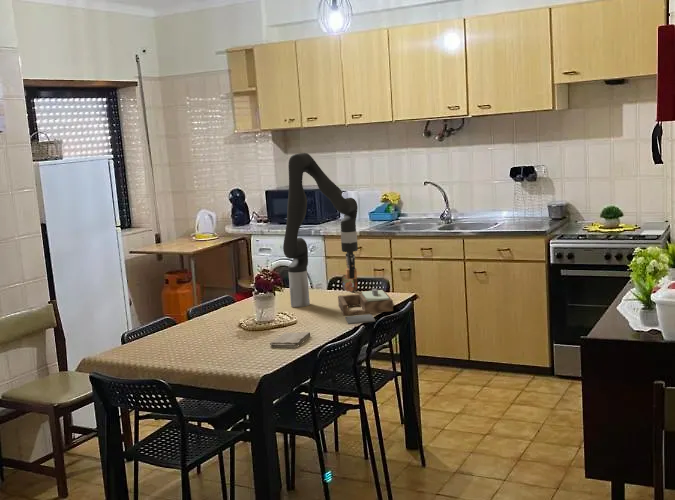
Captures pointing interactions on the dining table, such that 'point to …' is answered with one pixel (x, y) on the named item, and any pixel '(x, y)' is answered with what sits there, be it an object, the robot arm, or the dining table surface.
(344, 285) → the tin
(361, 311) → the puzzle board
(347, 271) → the block
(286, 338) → the washcloth
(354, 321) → the rubber mat
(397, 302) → the dining table surface
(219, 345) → the dining table surface
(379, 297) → the cover
